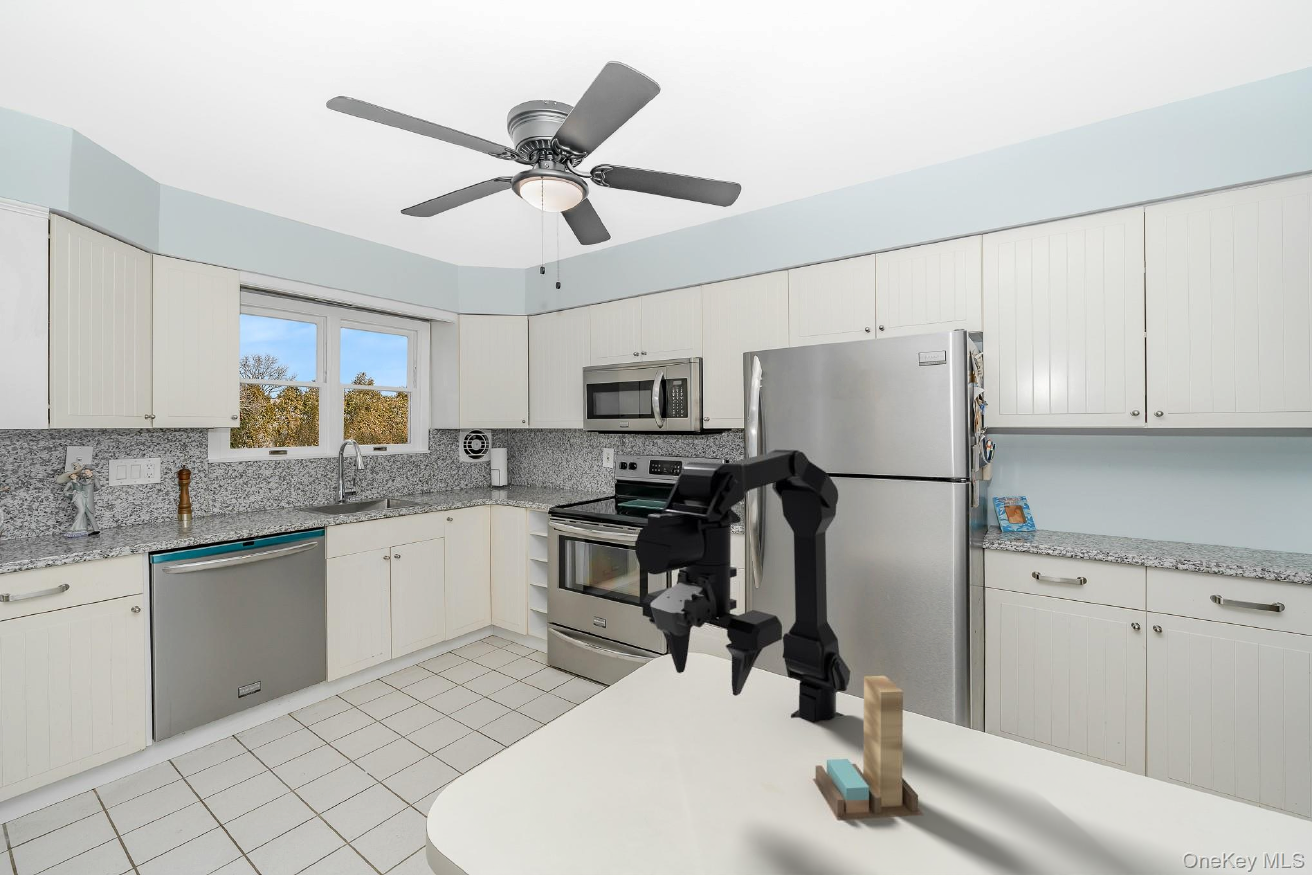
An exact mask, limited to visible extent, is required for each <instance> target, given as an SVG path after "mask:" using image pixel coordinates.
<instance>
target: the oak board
mask: <svg viewBox="0 0 1312 875" xmlns="http://www.w3.org/2000/svg"><path fill="white" fill-rule="evenodd" d="M903 709H904V691H903V690H902V689H901V688H900V687H899V686H898V685H896V684H895V683H894V682H893V681H891V679H890V678H888V677H887V676H886V675H872V676H870V675H869V676H865V675H864V676H863V753H862V754H863V766H862V767H863V768H862V769H863V772H862V773H863V774H864V776H865V777H866V778H867V779H868V781H869V782H870V783H871V785H872V786H873V787H874V789H875V790H876V791H877V792H878V794H879V795H880V796H881V807H890V806H902V777H903V753H904V752H903V751H904V750H903V745H904V743H903V738H904V737H903V736H904V735H903V732H904V730H903V726H904V725H903V724H904V723H903V722H904V721H903V719H904V717H903V716H904V714H903V712H904V710H903Z"/></svg>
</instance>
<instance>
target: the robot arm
mask: <svg viewBox="0 0 1312 875" xmlns="http://www.w3.org/2000/svg"><path fill="white" fill-rule="evenodd" d="M681 470H682V471H681V472H680V474H679V476H678V478H677V479H676V481H675V483H674V485H673V488H672V489H671V491H670V494H669V496H668V498H667V500H666V502H665V504H664V506H663V508H662V510H661V513H651V514H648V515H647V524H646V525H645V526H644V527H642V528H641V529H640V530H639V532H638V535H637V538H636V540H635V542H634V550H635V556H636V559H637V561H638V563H639V565H640V568H642V569H643V570H644V571H645V572H647V573H649V574H650V575H660V574H664V573H668V572H671V571H672V572H673V571H677V570H678V573H677V581H676V584H675V585H674V586H671V587H667V588H662V589H659V590H657V591H652V592H650V593H649V592H648V593H647V594H646V596H645V597H644V598H643V601H642V616H643V617H646V618H649V619H648V621H649V623H650V624H652V625H654V626H655V628H657V630H660V631H661V633H663V636H664V638H665V641H666V643H667V645H668V650H669V653H670V655H671V659H672V661H673V664H674V668H675V670H676V673H678V674H682V673H684V672H685V669H686V666H687V661H688V653H689V647H690V639H691V637H690V636H691V629H692V627H697V628H699V629H700V628H701V627H702V626H704V624H708V625H711V626H715V627H718V628H721V629H724V630H726V637H727V638H728V640H729V641H730V643H727V644H726V645H725V648H726V649H727V651H728V653H730V655H731V690H732V695H733V696H735V697H736V696H738V695H740V694H741V692H742V690H743V688H744V686H745V684H746V682H747V680H748V677H749V676H750V673H751V671H752V669H753V667H754V665H755V663H756V660H757V658H758V657H759V656H760V655H761V652H762V650H763V649H765V648H766V647H768V646H771V645H773V644H775V643H777V642H779V641H781V640H782V642H783V644H782V645H783V653H782V658H783V659H784V664H785V669H786V673H787V677H788V678H790V679H794V680H796V681H799V688H798V689H799V690H798V692H799V693H798V709H797V710H796V711H794V712H793V713H791V714H790V718H791V719H798V718H800V719H802V720H805V721H807V722H809V723H812V724H815V723H820V722H825V721H826V722H827V721H831V720H833V719H835V718H836V717H841V716H843V717H845V714H843V713H840V712H838V711H837V694H838V692H846V691H847V690H848V685H849V683H850V680H851V679H850V677H851V676H850V675H851V670H850V669H849V667H848V666H847V664H846V663H845V661H844V659H843V658H842V656H841V655H840V650H839V648H840V647H839V640H838V637H837V635H836V634H835V632H834V631H833V628H832V627H831V625H830V624H829V622H828V609H827V608H828V606H827V604H828V602H827V599H828V598H827V593H828V592H827V555H826V554H827V550H826V548H827V546H826V543H827V541H826V540H827V539H826V532H827V530H828V528H829V527H830V525H831V524H832V522H833V521H834V519H835V517H836V515H837V504H838V501H839V490H838V488H837V486H836V484H835V483H834V481H833V480H832V479H831V477H830V476H829V474H828V473H827V472H826V471H825V470H823V469H822V468H820V467H819V466H818V465H816V464H815V463H813V462H811V461H810V460H809V459H808V457H807V456H806V454H805V453H804V452H803V451H800V450H799V449H774V450H772V451H770V452H768V453H763V454H759V455H755V456H752V457H746V458H744V459H739V460H735V461H732V462H731V461H730V462H727V463H726V462H706V461H705V462H702V461H701V462H700V461H689V462H688V463H685V464H684V465H683V466H682V468H681ZM770 484H771V485H772V487H771V488H772V490H773V491H774V493H775V494H776V495H777V496H778V498H779V499H780V501H781V507H782V515H783V517H784V518H785V520H786V522H787V524H788V525H789V528H790V529H791V531H792V532H793V565H794V566H793V568H794V569H793V570H794V571H793V572H794V614H795V616H794V618H795V619H794V620H795V621H794V623H793V625H792V626H791V627H790V629H789V631H788V632H785V633H784V635H783V625H782V622H781V620H780V619H779V617H778V615H774V614H771V613H767V612H764V611H759V610H756V609H751V610H749V611H747V612H744V613H741V614H738V615H736V614H734V613H731V611H732V610H734V609H735V610H736V609H737V607H738V606H737V603H738V602H737V601H738V600H737V599H733V598H731V580H732V579H731V578H735V577H737V573H738V572H737V571H738V570H737V569H738V568H736V567H733V566H732V564H731V560H732V559H731V557H732V556H731V555H732V554H731V553H732V550H731V549H732V548H731V544H732V542H731V540H732V537H731V536H732V535H731V534H732V533H731V532H732V530H731V529H732V526H731V525H732V524H733V525H734V524H739V523H740V522H741V520H742V519H741V517H740V516H739V514H737V513H736V512H735V511H734V510H733V509H732V508H733V507H734V506H736V505H738V504H739V503H741V502H742V501H743V500H744V499H745V498H746V495H747V493H749V492H750V491H752V490H755V489H758V488H761V487H764V486H767V485H770Z"/></svg>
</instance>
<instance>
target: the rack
mask: <svg viewBox="0 0 1312 875" xmlns="http://www.w3.org/2000/svg"><path fill="white" fill-rule="evenodd" d="M851 764H852V765H853V767H854V768H855V769H856V771H857V772H858V773H859V775H860V776H861V777H862V779H863V780H864V781H865V782H866V784H867V785H868V786H869V812H860V813H846V812H845V811H844V799H843V797H842V796H841V794H840V793H839V791H838V790H837V788H836V787H835V785H834V784H833V782H832V780H831V779H830V777H829V776H828V774H827V770H825V769H824V766H822V765H815V778H812V781H813V782H814V784H815V786H816V788H818V790H819V792H820V794H821V795H822V797H823V799H824V800H825V802H826V803H827V805H828V808H830V811H831V812H832V813H833V815H834V817H835V818H836V820H837V821H846V820H860V819H861V820H863V819H878V818H880V819H881V818H893V817H895V818H896V817H897V818H898V817H912V816H922V815H923V816H924V813H923V812H922V811H921V810H920V809H919V795H918V793H917V792H916V791H915V790H914V789H913V788H912V786H911V785H910V784H909V783H908V781H906V779H905V778H903V776H902V806H890V807H881V796H880V795H879V794H878V792H877V791H876V790H875V789H874V787H873V786H872V785H871V783H870V782H869V781H868V779H867V778H866V777H865V776H864V774H863V772H862V771H861V769H860V767H859V766H858V765H857V764H856V763H851Z"/></svg>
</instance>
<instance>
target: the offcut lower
mask: <svg viewBox="0 0 1312 875" xmlns="http://www.w3.org/2000/svg"><path fill="white" fill-rule="evenodd" d="M826 773H827V774H828V772H827V771H826ZM828 776H829V777H830V775H829V774H828ZM830 779H831V780H832V778H831V777H830ZM832 782H833V784H834V785H835V787H836V788H837V790H838V791H839V789H838V787H837V786H836V784H835V783H834V781H833V780H832ZM839 793H840V794H841V792H840V791H839ZM841 796H842V797H843V795H842V794H841ZM843 799H844V811H845V812H846V813H860V812H869V800H853V801H846V800H845V798H844V797H843Z"/></svg>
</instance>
